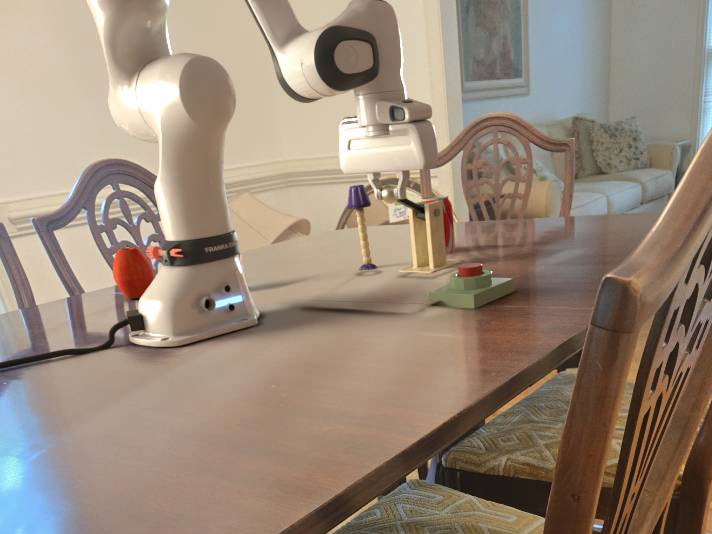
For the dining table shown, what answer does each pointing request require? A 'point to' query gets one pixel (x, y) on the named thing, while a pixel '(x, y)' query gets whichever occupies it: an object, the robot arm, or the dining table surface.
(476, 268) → the button
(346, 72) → the robot arm
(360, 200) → the toy lamp
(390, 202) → the lever
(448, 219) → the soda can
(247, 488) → the dining table surface
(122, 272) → the apple
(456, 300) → the switch block
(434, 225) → the bracket
